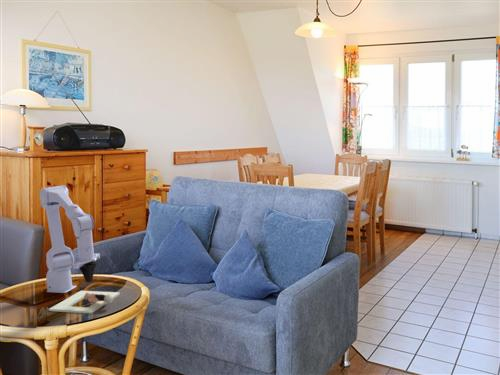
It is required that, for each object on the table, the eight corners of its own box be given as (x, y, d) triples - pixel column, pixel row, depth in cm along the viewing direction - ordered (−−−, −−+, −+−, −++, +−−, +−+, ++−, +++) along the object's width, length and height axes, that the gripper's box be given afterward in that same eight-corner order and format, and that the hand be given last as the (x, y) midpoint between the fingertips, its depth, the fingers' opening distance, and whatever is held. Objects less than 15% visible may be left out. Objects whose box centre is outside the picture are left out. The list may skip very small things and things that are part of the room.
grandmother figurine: (80, 301, 186) (102, 303, 178) (82, 291, 186) (104, 293, 179) (97, 302, 192) (119, 304, 185) (98, 292, 193) (120, 294, 186)
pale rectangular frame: (49, 311, 184) (48, 308, 183) (81, 292, 203) (81, 290, 202) (91, 313, 179) (91, 311, 178) (119, 294, 198) (119, 292, 198)
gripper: (83, 252, 179) (86, 288, 181) (105, 242, 193) (108, 276, 195) (66, 252, 181) (70, 287, 183) (89, 242, 195) (92, 275, 197)
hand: (89, 281), depth 189 cm, fingers closed
